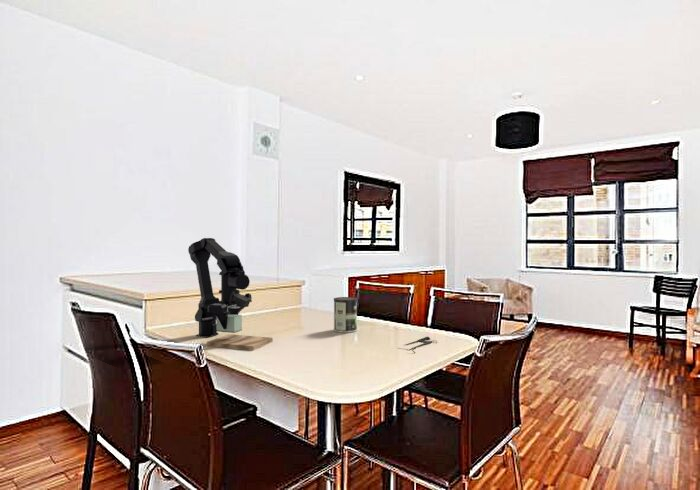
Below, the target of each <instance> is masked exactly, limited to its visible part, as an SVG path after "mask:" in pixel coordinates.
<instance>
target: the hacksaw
mask: <svg viewBox="0 0 700 490" xmlns="http://www.w3.org/2000/svg"><path fill="white" fill-rule="evenodd" d="M420 342H421V344H418V345H416V346H413V347H411V348H409V349H407V348H404V350H405V351H412V353H408V352H407V355H408V354H409V355H412V354H416V351H415V350H416V349H417V348H420V347H423V346H425V345H426V346H427V345H428V344H429V345H430V344H432V342H433V340H431V338H430V337H429V336H425V337H422V338H420V339H417V340H415V341H412V342H408V343H405V344H404V346H409V345H413V344H417V343H420ZM434 343H437V341H434ZM397 349H398V350H402V348H400V347H397Z"/></svg>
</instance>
